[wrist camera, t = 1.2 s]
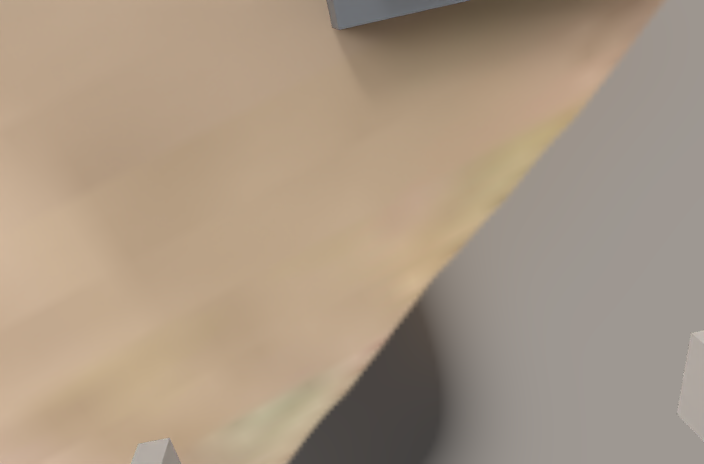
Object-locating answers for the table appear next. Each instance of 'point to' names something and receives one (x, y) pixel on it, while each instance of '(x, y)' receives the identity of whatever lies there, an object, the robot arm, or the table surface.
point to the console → (377, 10)
